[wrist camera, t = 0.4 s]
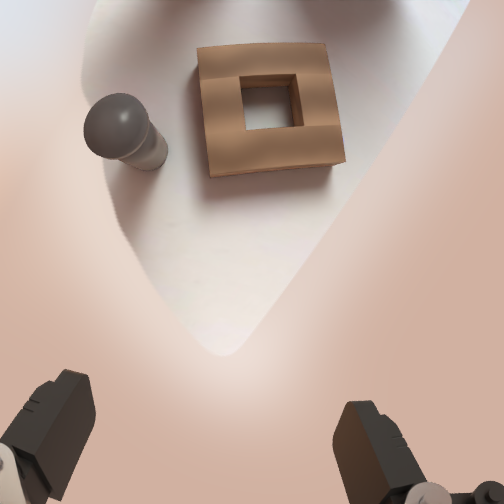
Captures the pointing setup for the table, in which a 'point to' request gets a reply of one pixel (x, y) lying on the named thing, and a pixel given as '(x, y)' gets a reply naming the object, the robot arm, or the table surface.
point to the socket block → (271, 139)
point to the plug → (124, 132)
